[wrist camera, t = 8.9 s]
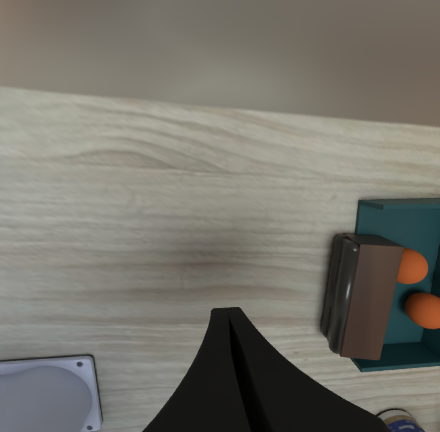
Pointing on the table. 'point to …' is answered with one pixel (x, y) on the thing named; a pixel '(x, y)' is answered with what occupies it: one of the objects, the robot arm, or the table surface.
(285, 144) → the table surface
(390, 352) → the dustpan
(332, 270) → the brush
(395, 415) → the pill bottle
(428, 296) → the ball
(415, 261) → the ball
